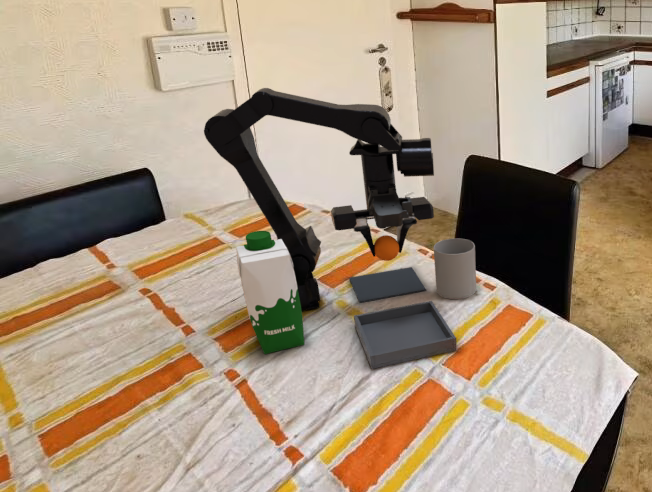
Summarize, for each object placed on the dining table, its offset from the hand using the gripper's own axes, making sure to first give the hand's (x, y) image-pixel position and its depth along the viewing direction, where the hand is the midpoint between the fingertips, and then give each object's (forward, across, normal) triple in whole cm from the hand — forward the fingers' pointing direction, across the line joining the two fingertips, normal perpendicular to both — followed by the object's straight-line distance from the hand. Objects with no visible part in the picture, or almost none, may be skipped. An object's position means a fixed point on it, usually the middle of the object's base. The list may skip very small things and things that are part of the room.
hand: (386, 254), depth 123 cm
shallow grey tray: (+10, -1, -16) cm, 19 cm away
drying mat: (+10, 0, +7) cm, 12 cm away
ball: (-1, 0, 0) cm, 1 cm away
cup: (+10, +14, -1) cm, 17 cm away
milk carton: (+10, -22, -9) cm, 26 cm away
